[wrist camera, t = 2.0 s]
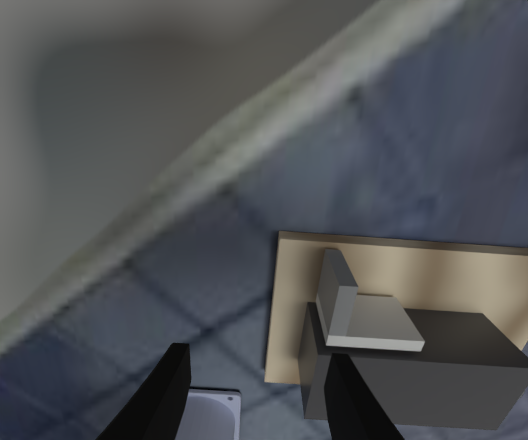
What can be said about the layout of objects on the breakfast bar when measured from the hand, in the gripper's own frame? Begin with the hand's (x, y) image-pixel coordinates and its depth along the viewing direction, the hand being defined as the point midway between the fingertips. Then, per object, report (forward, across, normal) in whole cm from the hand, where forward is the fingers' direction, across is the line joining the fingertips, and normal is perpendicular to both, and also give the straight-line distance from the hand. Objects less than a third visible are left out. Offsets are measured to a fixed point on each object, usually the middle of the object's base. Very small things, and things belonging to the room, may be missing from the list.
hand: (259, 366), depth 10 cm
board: (+9, -11, +6) cm, 16 cm away
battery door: (+8, -7, +1) cm, 10 cm away
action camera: (+8, -10, +7) cm, 15 cm away
